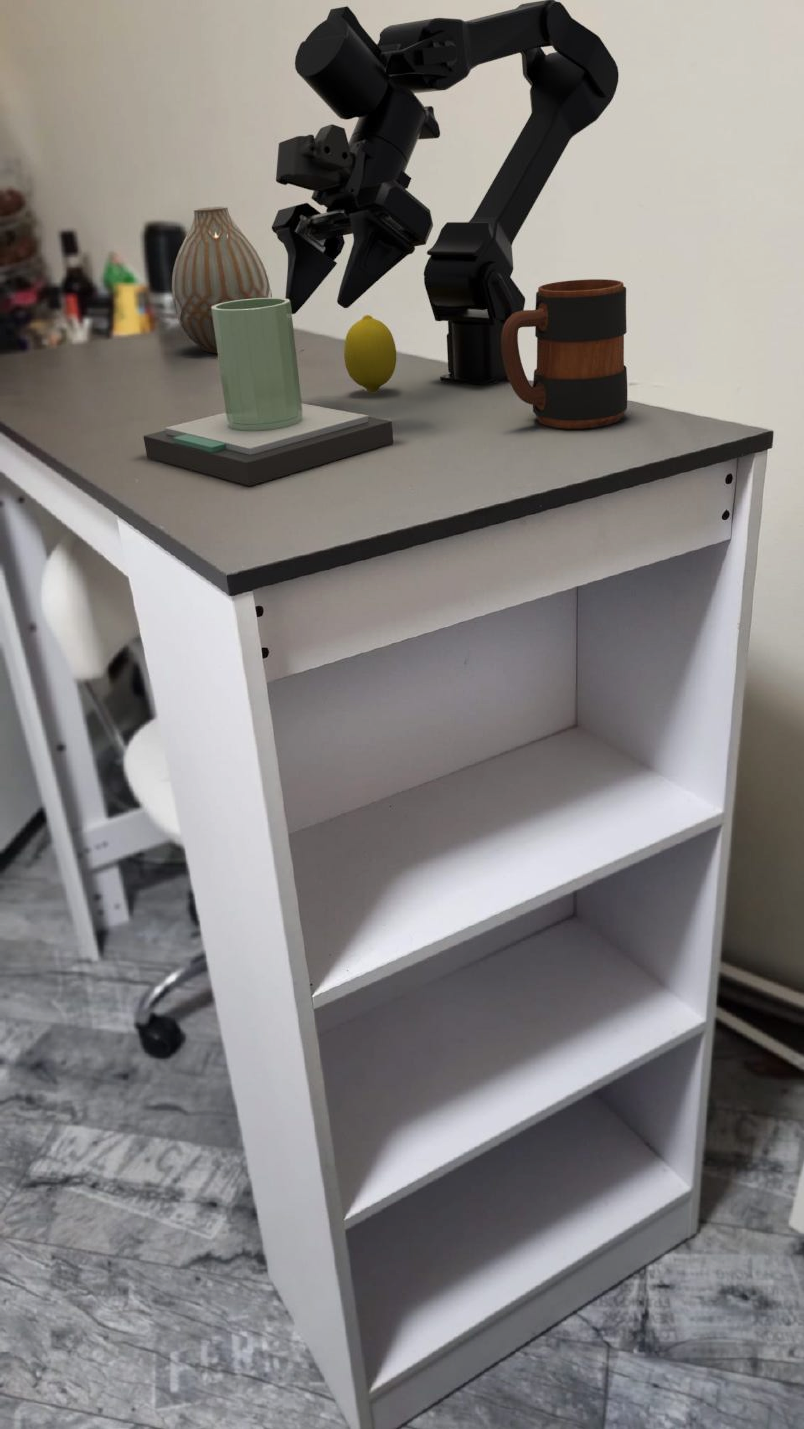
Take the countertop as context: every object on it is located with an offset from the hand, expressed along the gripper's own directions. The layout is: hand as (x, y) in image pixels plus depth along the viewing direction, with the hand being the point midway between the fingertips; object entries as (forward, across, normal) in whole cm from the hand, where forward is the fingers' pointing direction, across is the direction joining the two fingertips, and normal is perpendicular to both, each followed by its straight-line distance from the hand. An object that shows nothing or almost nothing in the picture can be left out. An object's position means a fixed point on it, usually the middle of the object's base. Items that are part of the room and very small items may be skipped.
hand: (314, 309), depth 101 cm
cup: (+12, +2, -2) cm, 12 cm away
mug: (+1, +16, +20) cm, 25 cm away
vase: (-6, -49, +16) cm, 52 cm away
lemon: (+1, -10, +15) cm, 18 cm away
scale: (+14, +2, 0) cm, 14 cm away
